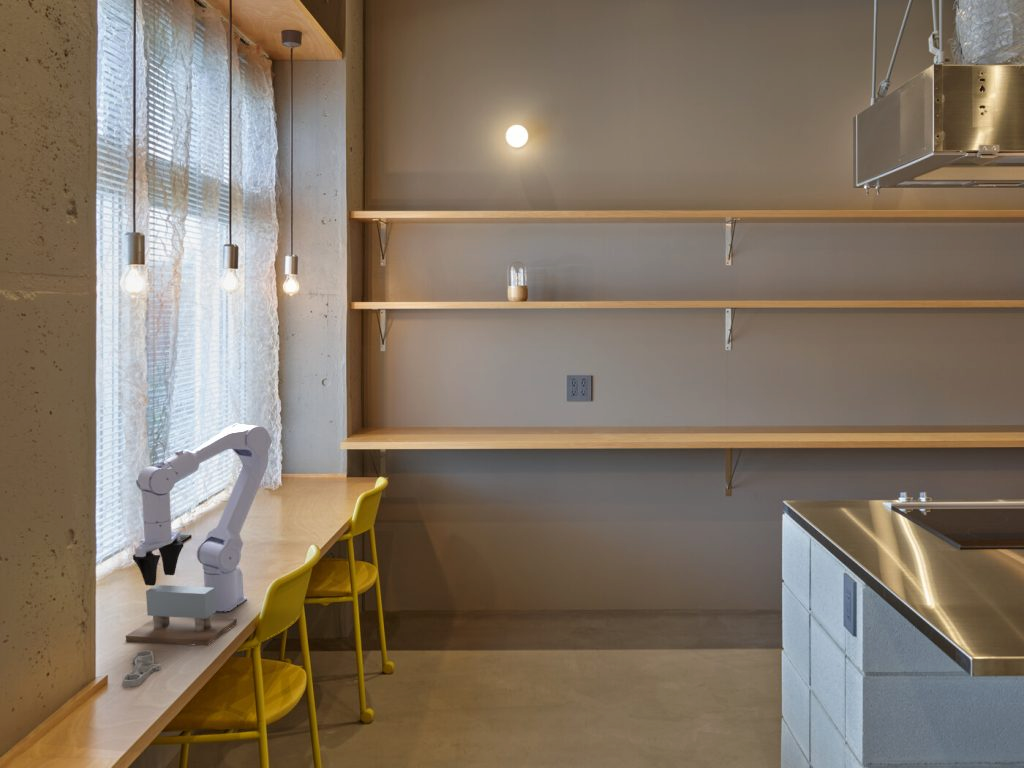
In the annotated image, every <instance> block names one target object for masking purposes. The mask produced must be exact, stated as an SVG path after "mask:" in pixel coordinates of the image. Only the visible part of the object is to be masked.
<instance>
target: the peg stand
mask: <svg viewBox="0 0 1024 768" xmlns="http://www.w3.org/2000/svg"><path fill="white" fill-rule="evenodd" d="M236 623H238V620H237V618H233V617H232V618H229V617H212V616H209V617H208V618H206V619H204V618H185V617H166V616H152V619H150V620H149V621H147V622H146V623H144V624H143V625H141V626H139V627H138V628H136V629H135V630H132V631H131V632H129V633H128V634H126V635H125V641H126V642H133V643H134V642H137V643H150V644H151V643H152V644H168V645H169V644H170V645H171V644H172V645H183V644H195V645H194V646H200V645H207V646H209V645H210V644H212V643H213V642H214V641H216V640H217V639H219V638H220V637H221V636H222V635H224V634H225V633H227V632H228V631H229V630H230V629H229V628H231V627H232V626H233V625H235V624H236ZM236 625H237V624H236ZM236 625H235V626H236ZM233 627H234V626H233ZM233 627H232V628H233ZM232 628H231V629H232ZM228 629H229V630H228ZM227 630H228V631H227ZM223 633H224V634H223ZM220 635H221V636H220ZM219 636H220V637H219ZM216 638H217V639H216ZM215 639H216V640H215ZM213 640H214V641H213ZM212 641H213V642H212ZM209 643H210V644H209ZM208 644H209V645H208Z"/></svg>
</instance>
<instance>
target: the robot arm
mask: <svg viewBox="0 0 1024 768" xmlns="http://www.w3.org/2000/svg"><path fill="white" fill-rule="evenodd" d="M272 442H273V440H272V438H271V436H270V434H269V431H268V430H267V428H265V427H264V426H261V425H252V424H251V425H250V424H243V423H238V422H236V423H234V424H232V425H230V426H228V427H225V428H223V430H222V431H221V432H220V433H218V434H217V435H214V436H213V437H212V438H210V439H209V440H207V441H205V442H204V443H202V444H201V445H199V446H198V447H196V448H194V449H192V451H191V450H189V449H178V450H176V451H174V453H175V454H174V455H172V456H170V457H168V458H167V459H164V460H159V461H157V462H156V463H157V464H156V466H151V465H150V466H147V467H144V468H143V469H142V470H141V471H140V473H139V474H138V478H137V479H136V480H135V484H136V487H137V488H138V489H139V490H140V492H141V497H142V517H143V518H142V519H143V533H144V534H143V535H144V536H143V537H144V538H142V539H140V540H139V541H140V544H139V545H138V546H136V547H135V548H134V552H135V553H134V554H133V555H132V560H133V561H134V562H135V564H136V565H137V567H138V569H139V571H140V573H141V577H142V579H143V581H144V584H145V586H152V587H154V586H156V583H157V572H158V571H157V570H158V564H159V561H160V558H161V560H162V569H163V573H164V575H165V576H174V575H175V574H176V569H177V564H178V559H179V557H180V554H181V551H182V549H183V548H184V542H183V541H181V532H180V531H172V518H171V517H172V516H171V515H172V514H171V513H172V511H171V495H170V494H171V493H170V492H172V490H173V488H174V487H175V485H176V484H177V483H179V482H180V481H182V480H183V479H185V478H187V477H189V476H190V475H192V474H194V473H197V471H198V470H199V467H200V464H201V463H204V462H205V461H207V460H210V459H211V458H213V457H215V456H217V455H219V454H221V453H223V452H225V451H228V450H233V451H232V452H234V453H235V454H236V455H237V456H238V458H239V460H240V462H241V466H242V467H241V470H240V471H239V474H238V476H237V478H236V481H235V484H234V486H233V488H232V491H231V493H230V496H229V498H228V500H227V502H226V505H225V507H224V509H223V512H222V514H221V516H220V519H219V521H218V523H217V526H215V528H213V529H211V530H210V531H208V533H207V535H206V537H205V539H204V540H203V541H202V542H201V543H200V544H199V546H198V547H197V550H196V558H197V560H198V562H199V563H200V564H201V565H202V570H203V582H204V584H203V585H204V586H203V587H211V588H215V604H216V612H223V611H224V612H227V611H229V612H231V611H232V610H234V609H235V608H237V607H238V606H239V605H241V604H243V603H244V602H245V601H247V599H248V596H244V595H245V594H244V583H243V582H244V578H243V575H244V574H243V571H242V569H241V568H240V566H239V564H240V562H241V556H242V548H243V546H244V541H243V539H242V538H241V531H242V529H243V526H244V524H245V522H246V519H247V517H248V514H249V512H250V509H251V507H252V505H253V502H254V499H255V497H256V495H257V492H258V490H259V488H260V485H261V483H262V480H263V478H264V476H265V473H266V471H267V468H268V464H269V450H270V447H271V445H272V444H273V443H272ZM156 550H158V551H159V553H160V554H154V553H153V552H154V551H156ZM237 605H238V606H237Z"/></svg>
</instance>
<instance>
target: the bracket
mask: <svg viewBox="0 0 1024 768" xmlns="http://www.w3.org/2000/svg"><path fill="white" fill-rule="evenodd" d="M154 659H155V658H154V652H153V651H152V650H149V649H148V650H147V649H146V650H144V649H143V650H141V651H140V650H139V651H138V652H136V653H135V654H134V655H133V656H132V658H131V662H132V664H135V666H134V668H133V669H132V670H131V671H129V673H127V674H125V675H122V678H121V679H122V686H123V687H124V688H134V687H138V686H140V685H142V683H143V682H144V681H145V679H147V677H150V675H151V674H152V673H153V672H157V671H160V669H161V665H162V664H161V662H160V663H157V664H156V663H155V661H154Z"/></svg>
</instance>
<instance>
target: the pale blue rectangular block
mask: <svg viewBox="0 0 1024 768" xmlns="http://www.w3.org/2000/svg"><path fill="white" fill-rule="evenodd" d="M145 595H146V599H145V600H146V611H147V612H146V613H147V614H146V615H147V617H148V616H149V617H153V616H166V617H185V618H204V619H206V618H208V617H209V616H210V617H212V615H214V614H215V613H216V612H217V611H216V604H215V588H211V587H204V586H188V585H187V586H184V585H167V584H166V585H164V584H163V585H162V584H160V585H159V584H157V585H156V584H155V585H154V586H152V587H151V588H149V589H147V590H145Z"/></svg>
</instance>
